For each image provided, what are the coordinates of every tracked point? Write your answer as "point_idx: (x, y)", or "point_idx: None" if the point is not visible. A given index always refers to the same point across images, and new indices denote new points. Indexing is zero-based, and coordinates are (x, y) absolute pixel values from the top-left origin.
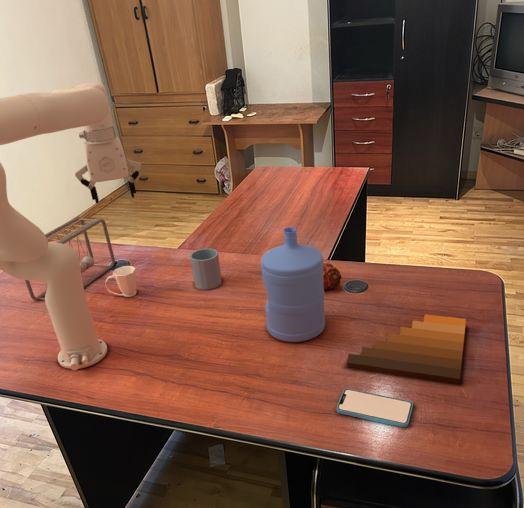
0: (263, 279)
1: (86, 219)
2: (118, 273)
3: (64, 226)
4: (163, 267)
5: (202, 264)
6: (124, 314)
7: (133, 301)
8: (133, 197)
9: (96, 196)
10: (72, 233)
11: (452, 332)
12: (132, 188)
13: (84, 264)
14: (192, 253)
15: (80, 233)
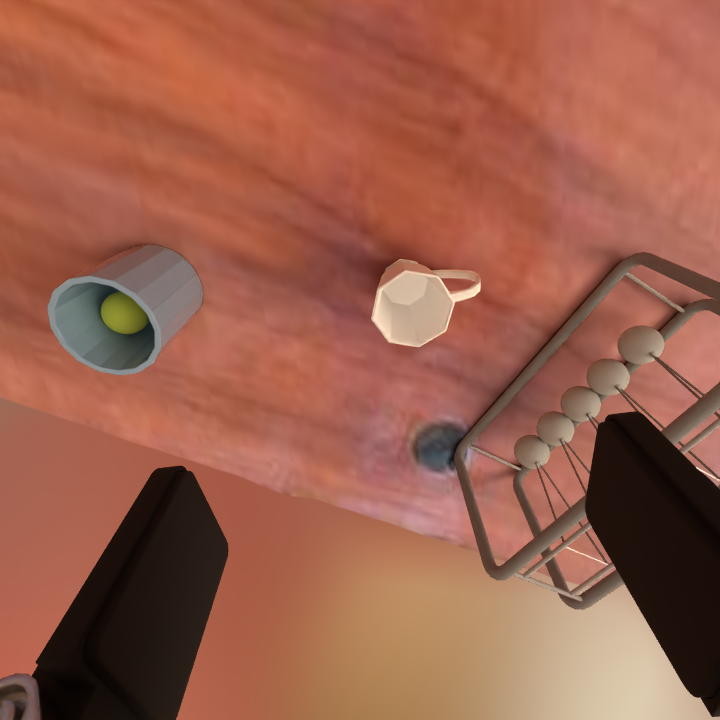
0: None
1: (553, 588)
2: (435, 322)
3: None
4: (316, 410)
5: (105, 271)
6: (413, 134)
7: (388, 224)
8: (174, 469)
9: (664, 480)
10: None
11: None
12: (95, 568)
13: (545, 428)
14: (154, 347)
15: (585, 496)
